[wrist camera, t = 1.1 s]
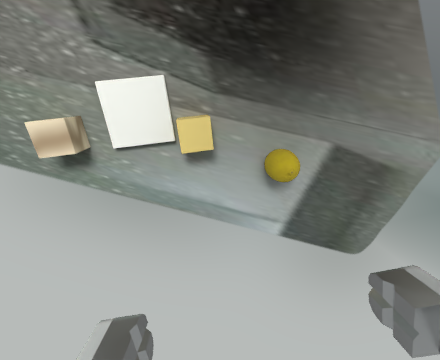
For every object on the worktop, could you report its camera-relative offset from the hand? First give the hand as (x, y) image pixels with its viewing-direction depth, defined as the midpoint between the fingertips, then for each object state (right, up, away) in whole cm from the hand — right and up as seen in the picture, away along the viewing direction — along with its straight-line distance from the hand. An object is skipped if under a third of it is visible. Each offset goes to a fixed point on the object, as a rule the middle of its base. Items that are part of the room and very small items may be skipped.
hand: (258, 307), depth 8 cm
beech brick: (-26, +12, +27) cm, 39 cm away
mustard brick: (-6, +13, +29) cm, 33 cm away
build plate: (-15, +15, +27) cm, 34 cm away
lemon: (+9, +9, +33) cm, 35 cm away
